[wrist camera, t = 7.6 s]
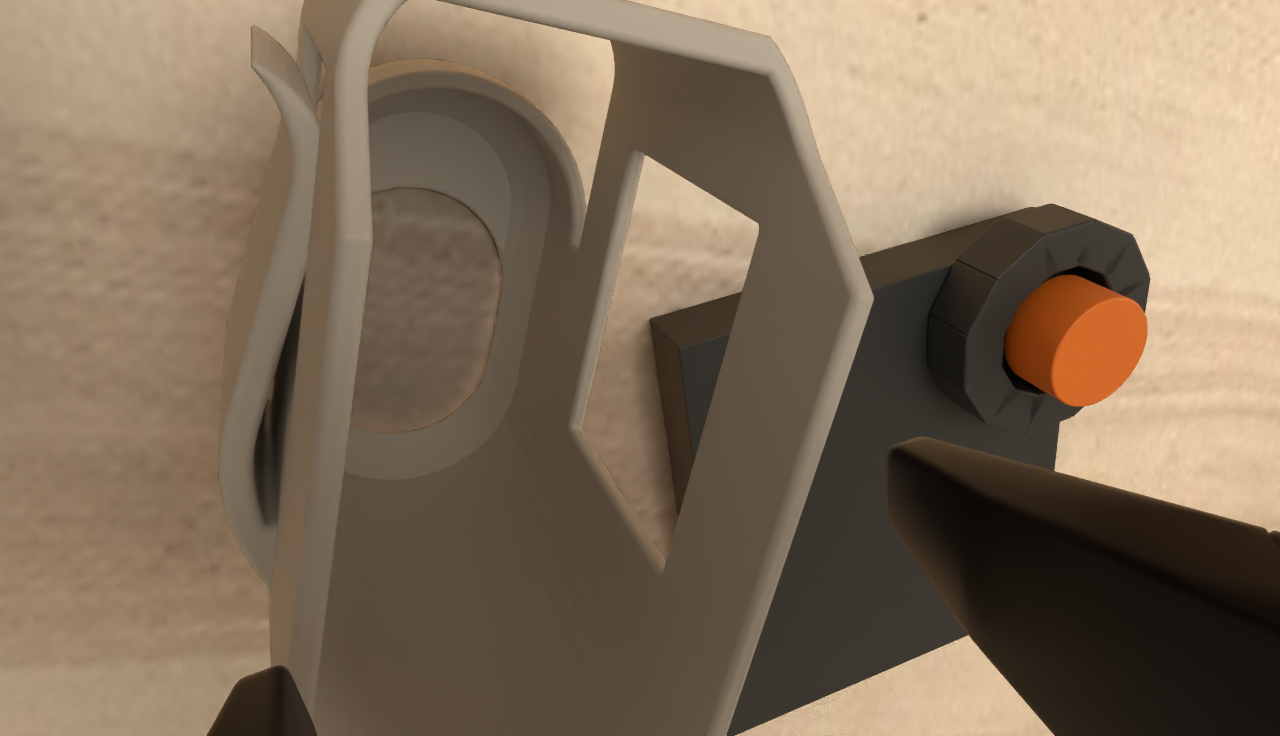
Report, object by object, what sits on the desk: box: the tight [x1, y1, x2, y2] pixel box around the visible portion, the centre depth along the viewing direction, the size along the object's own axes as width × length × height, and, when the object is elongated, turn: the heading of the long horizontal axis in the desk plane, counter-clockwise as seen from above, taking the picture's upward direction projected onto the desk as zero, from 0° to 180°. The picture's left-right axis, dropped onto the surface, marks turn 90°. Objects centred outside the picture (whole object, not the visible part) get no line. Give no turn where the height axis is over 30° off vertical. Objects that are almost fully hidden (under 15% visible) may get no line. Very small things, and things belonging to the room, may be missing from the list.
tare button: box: [1004, 275, 1147, 407], centre depth 24 cm, size 3×3×2 cm
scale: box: [650, 204, 1150, 736], centre depth 27 cm, size 15×13×4 cm
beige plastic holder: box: [218, 0, 874, 736], centre depth 15 cm, size 7×12×12 cm, turn 165°
